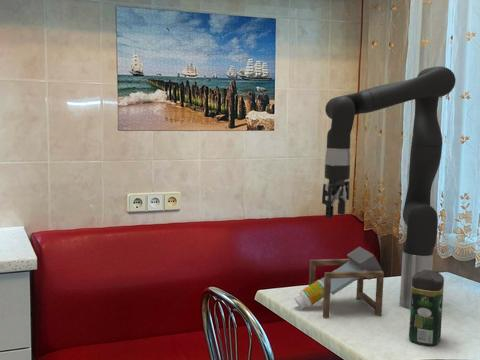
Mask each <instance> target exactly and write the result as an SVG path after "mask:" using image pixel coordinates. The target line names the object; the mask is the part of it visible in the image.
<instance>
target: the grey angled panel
mask: <svg viewBox="0 0 480 360" xmlns="http://www.w3.org/2000/svg"><path fill="white" fill-rule="evenodd" d="M346 256H347V259H349V261H348V262H347V263H345V264H344V265H340V266H339V267H338V268H336V269H334V270H332V272H355V271H383V270H382V267H381V266H380V263H379V262H378V260H377V258H376V256H375V255H374V254H373V253H372V252H370V251H368V250H366V249H365V248H362V247H361V246H358V247H356V248H355V249H354V250H351V251H350V252H348V253H347V254H346ZM324 277H325V276H324ZM324 277H321V278H320V279H319V280H320V281H321V282H322V283H323V284H324ZM373 278H374V277H370V278H366V279H367V280H368V281H370V280H372V279H373ZM357 279H359V278H333V279H331V291H330V295H332V296H334V295H335V294H337V293H339V292H340V291H341V290H343V289H345V288H347V287H348V286H349V285H352V283H354V282H357Z"/></svg>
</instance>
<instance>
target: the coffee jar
mask: <svg viewBox="0 0 480 360" xmlns="http://www.w3.org/2000/svg"><path fill="white" fill-rule="evenodd" d="M444 283H445V279H444V276H443V274H441V273H440V272H439V271H437V270H432V271H431V270H423V271H420V272H417V273H416V274H415V275H414V276H413V277H412V289H411V309H410V314H409V316H410V317H409V326H408V327H409V329H408V330H409V332H408V338H409V340H410V341H412V342H414V343H416V344H419V345H423V346H427V345H429V346H435V345H437V344H438V343H439V342H440V339H441V337H442V336H441V335H442V320H443V319H442V315H443V302H444V301H443V300H444V299H443V298H444V286H445V285H444Z"/></svg>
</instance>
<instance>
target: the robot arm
mask: <svg viewBox="0 0 480 360" xmlns="http://www.w3.org/2000/svg"><path fill="white" fill-rule="evenodd" d="M455 86H456V75H455V73H454V72H453V70H452V69H450V68H448V67H446V66H438V65H437V66H433V67H427V68H425V69H422V70H421V71H420V72H419V73H418V74H417V76H416V77H413V78H410V79H407V80H402V81H398V82H392V83H385V84H381V85H377V86H373V87H369V88H366V89H362V90H360V91H357V92H354V93H349V94H344V95H339V96H336V97H333V98H331V99H329V100H328V101H327V103H326V105H325V114H326V116H327V117H328V118H329V119H331V124H330V129H329V130H328V131H327V135H326V136H327V137H326V151H325V156H324V157H325V158H324V159H325V160H324V161H325V162H324V178H325V179H327V180H328V183H323V185H322V186H323V187H322V195H321V196H322V197H321V198H322V199H321V204H323V205H325V218H326V219H333V218H334V211H335V210H334V208H335V207H334V205H335V202H336V201H337V214H338V215H345V214H346V203H347V201H349V200H350V181H349V180H350V177H351V174H350V173H351V159H352V158H351V137H352V136H351V135H352V130H353V127H354V126H353V125H354V122H355V116H357V115H360V114H369V113H372V112H373V113H374V112H377V111H380V110H383V109H387V108H391V107H393V106H397V105H399V104H404V103H406V102H409V101H414V119H413V127H412V137H411V145H410V154H409V166H408V167H409V168H408V169H409V170H408V186H407V191H406V196H405V200H404V205H403V209H402V218H403V219H402V220H403V222H404V224H405V225H406V227H407V228H406V237H405V241H403V245H402V259H401V272H400V273H401V275H400V276H401V277H400V289H399V291H400V292H399V293H400V294H399V304H400V305H401V306H402V307H404V308H406V309H407V308H408V309H410V310H411V289H412V277H413V276H414V275H415V274H416V273H417V272H420V271H423V270H431V271H433V263H434V262H433V261H434V260H433V259H434V250H435V248H436V246H437V245H436V244H437V238H438V237H437V236H438V228H439V227H438V226H439V217H438V213H437V211H436V209H435V208H434V207H433V206H431V194H432V186H433V183H434V181H435V177H436V176H437V173H438V171H439V168H440V165H441V159H442V152H443V151H442V150H443V135H442V131H441V127H440V123H439V117H438V107H439V99H440V98H441V97H445V96H447V95H448V94H450V93H451V92H452V91H453V89H454V87H455Z"/></svg>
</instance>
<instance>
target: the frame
mask: <svg viewBox="0 0 480 360" xmlns="http://www.w3.org/2000/svg"><path fill="white" fill-rule="evenodd" d="M348 261H349V258H330V259H329V258H327V259H322V258H321V259H309V274H308V286H309V285H311V284H312V283H314V282H315V281H316V266H342V265H344V264H345V263H347V262H348ZM384 274H385V272H384V271H383V270H382V271H355V272H333V271H325V272H324V298H323V302H322V303H323V305H322V317H323V319H330V313H331V312H330V307H331V293H330V291H331V279H333V278H359V279H357V280H356V297H355V299H356V300H357V301H363V302H364V303H366V304H367V306H369V307H370V308H372V310H374V315H375V316H376V317H382V312H383V299H384V297H383V296H384V295H383V293H384V279H385V278H384V277H385V275H384ZM370 277H373V278H376V283H375V284H376V286H375V300H374V299H372V298H371V297H370V296H368V295H367V294H366V293H365V292H364V279H367V278H370Z"/></svg>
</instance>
